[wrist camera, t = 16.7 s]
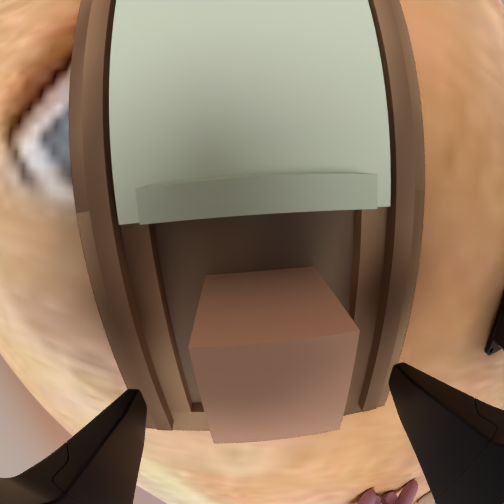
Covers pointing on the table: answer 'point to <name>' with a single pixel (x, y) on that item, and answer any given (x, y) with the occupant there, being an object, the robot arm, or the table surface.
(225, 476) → the table surface
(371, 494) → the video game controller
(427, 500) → the teacup
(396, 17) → the board
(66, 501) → the robot arm
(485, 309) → the table surface
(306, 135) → the lid
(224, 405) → the block
